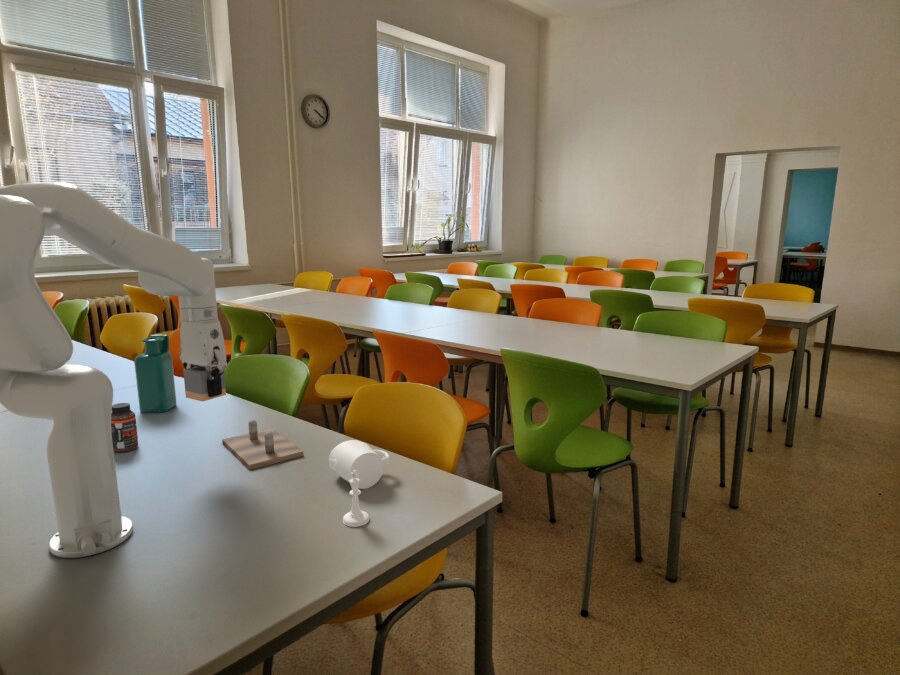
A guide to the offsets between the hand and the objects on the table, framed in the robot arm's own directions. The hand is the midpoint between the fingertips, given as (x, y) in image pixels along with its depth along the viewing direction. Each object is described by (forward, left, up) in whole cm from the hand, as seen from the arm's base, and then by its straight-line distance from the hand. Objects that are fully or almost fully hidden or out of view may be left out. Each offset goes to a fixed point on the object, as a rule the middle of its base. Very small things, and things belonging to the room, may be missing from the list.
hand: (205, 392), depth 129 cm
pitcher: (+54, 0, -18) cm, 57 cm away
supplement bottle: (+24, +14, -18) cm, 33 cm away
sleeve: (0, 0, -1) cm, 1 cm away
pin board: (+2, -13, -17) cm, 21 cm away
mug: (-28, -24, -18) cm, 41 cm away
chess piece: (-43, -14, -18) cm, 49 cm away
